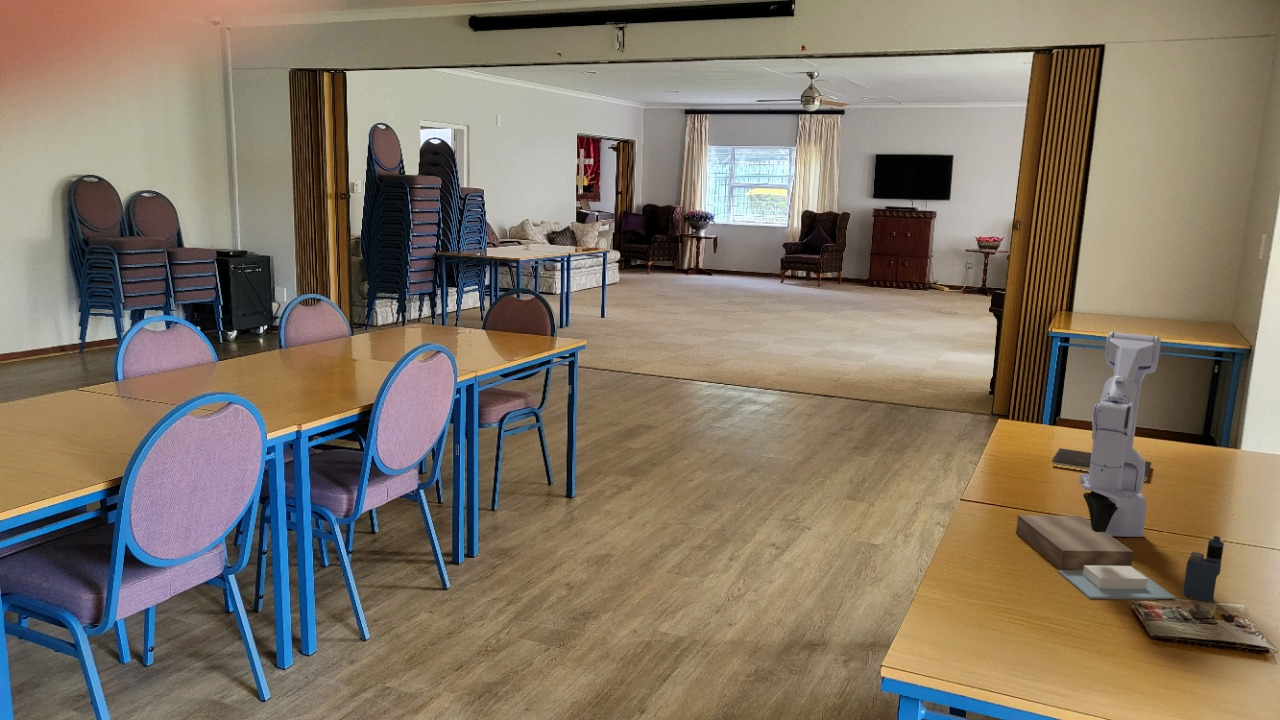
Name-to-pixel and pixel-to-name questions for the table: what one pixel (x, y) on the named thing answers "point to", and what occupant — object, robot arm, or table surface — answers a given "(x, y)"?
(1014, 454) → the table surface
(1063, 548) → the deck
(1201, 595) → the vaping device
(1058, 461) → the hardcover book
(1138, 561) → the table surface
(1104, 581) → the white flat block
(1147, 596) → the mat
